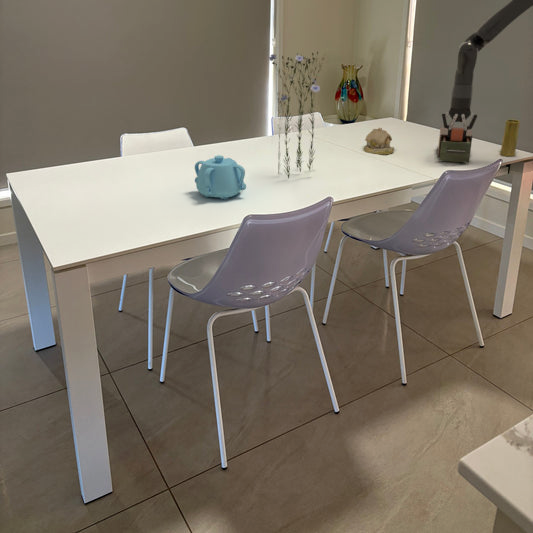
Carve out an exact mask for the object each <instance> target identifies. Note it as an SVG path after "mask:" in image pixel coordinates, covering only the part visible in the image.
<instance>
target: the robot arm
mask: <svg viewBox="0 0 533 533" xmlns="http://www.w3.org/2000/svg"><path fill="white" fill-rule="evenodd" d="M532 7H533V0H511V1H509V2H508V3H507V4H506V5H504V6H503V7H501V8H500V9H498V10H497V11H496V12H494V13H493V14H491V16H490V17H489V18H488V19H486V20H485V21H484V23H482V24H481V25H480V27H478V28H477V30H475V31H474V32H472V34H471V35H469V36H468V37H466V39H465V40H463V42H461V44H460V45H459V46H458V49H457V65H456V70H455V74H454V81H453V87H452V92H451V101H450V108H449V110H448V111H446V112H444V111H443V112H442V113H441V118H442V124H443V127H444V128H447V129H448V135H447V136H448V138H449V139H451V133H452V127H454V125H455V123H458V122H459V123H462V126H463V127H462V128H464V130H463V138H462V140H464V138H466V132H467V130H469V129H471V130H473V127H474V125H475V123H476V120H477V119H478V114H477V113H474V112H472V110H471V107H472V106H471V105H472V98H473V92H474V78H475V68H476V64H477V59H478V55H479V54H478V53H479V52H480V51H481V50H483V49H484V48H485V47H486V46H487V45H489V44H490V43H492V42H493V41H494V40H495V39H496V38H497V37H499V36H500V34H502V33H503V32H504V31H505V30H506V29H507V28H508V27H509V26H510V25H511V24H512V23H514V21H516V20H517V19H518V18H519V17H520V16H521V15H523V14H524V13H525V12H527V11H528V10H529V9H531V8H532ZM448 116H449V117H450V119H451V120H450V122H449V124H448V123H447V118H449V117H448ZM469 117H470V122H469V124H468V125H467V122H466V121H467V120H468V118H469Z"/></svg>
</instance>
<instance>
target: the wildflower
mask: <svg viewBox="0 0 533 533" xmlns="http://www.w3.org/2000/svg"><path fill="white" fill-rule="evenodd" d="M318 54H319V51H316V55H318ZM311 56H314V52H311ZM325 56H326V53H324V55H323V57H322V58H321V60H322V61H321V63H320V61H319V63H318V64H316V63H315V62H317V61H318V59H316V57H312V61H311V59H310V58H309V57H305V56H304V55H303V54H300V55H299V53H298V52H297V53H296V56H295V63H293V62H294V59H293V57H287V62H285V63H284V58H285V57H284V55H281V59H282V63H283V67H285V69H287V70H288V71H290V68H291V72H290V74H288V77H287V76H286V75H287V73H286V70H284V69H281V68H278V69H277V67H278V63H277V62H276V61H275V60H276V59H277V54H276V53H275V54H274V53H273V54H270V56H269V57H268V60H270V62H271V64H272V65H273V66H274V67H275V69H277V75H278V76H279V78H280V79H281V80H282V83H283V88H284V89H285V91H286V92H287V93H288V95H289V97H288V95H287V94H283V93H282V94H281V97H276V98H277V106H280V108H279V107H277V110H278V114H277V115H278V119H277V120H278V121H280V120H283V118H284V120H285V122H286V124H284V136H285V139H288V134H289V133H290V131H291V130H292V128H290V126H292V123H290V122H291V121H292V118H293V116H291V114H292V112H290V101H291V99H292V98H291V96H290V92H291V89H288V85H287V84H286V82H285V81H284V80H289V87H291V86H292V85H293V88H294V93H295V94H296V96H297V100H298V103H299V109H298V113H297V114H298V116H299V118H298V119H297V121H298V122H297V121H295V123H296V124H297V125H295V127H296V128H297V130H298V133H299V134H300V135H299V134H296V137H297V138H298V141H301V140H302V135H303V133H301V132H302V124H303V123H302V122H303V116H304V113H305V111H304V109H303V108H304V106H305V104H303V103H305V102H306V101H307V99H308V94H310V108H309V109H307V111H308V114H309V115H310V116H311V118H310V117H308V119H309V121H310V124H311V128H312V129H311V130H312V131H310V129H307V130H308V133H309V134H310V135H311V140H309V141H310V149H309V151H308V152H309V153H308V155H309V157H310V158H309V159H308V163H306V165H307V168H308V171H311V169H313V167H314V166H312V165H313V164H314V162H313V161H314V159H315V157H314V155H315V152H316V150H315V147H313V142H314V135H315V133H314V128H315V119H316V118H315V117H314V116H315V110H313V111H312V109H314V104H313V102H314V100H315V98H316V95H313V94H315V93H318V92H321V86H319V85H318V82H317V78H313V77H311V76H310V74H312V72H313V76H315V74H316V72H315V71H316V70H317V67H318V65H319V64H320V67H319V68H318V71H317V74H316V76H315V77H318V73H320V71H321V70H322V69H323V68H322V66H323V61H324V60H325ZM289 61H291V64H292V65H290V67H289ZM303 61H304V63H303ZM313 64H314V67H312V68H310V70H309V66H313ZM285 65H286V66H285ZM299 65H300V66H301V67H300V66H299ZM300 68H301V69H300ZM281 71H282V74H283V75H284V79H283V76H281ZM292 71H293V73H292ZM302 71H304V72H307V78H308V80H309V81H310V82H307V78H306V73H303V72H302ZM297 72H298V73H299V74H300V75H298V74H297ZM292 74H293V75H292ZM291 75H292V76H291ZM294 77H296V78H297V79H298V80H297V84H298V86H299V89H300V90H299V95H298V92H297V88H298V87H297V86H295V80H294ZM301 78H302V79H301ZM303 89H305V90H307V91H304V94H303ZM306 93H307V94H306ZM276 96H279V92H276ZM302 98H303V103H302V100H301V99H302ZM286 101H287V103H286ZM282 105H283V109H282V113H284V112H285V105H286V112H285V113H284V115H285V116H284V115H281V108H282ZM289 112H290V114H289ZM280 125H282V122H280ZM280 125H277V126H278V130H279V131H278V133H277V135H278V140H279V141H278V154H277V156H278V157H277V158H278V162H281V158H280V157H281V152H280V150H281V149H280V148H281V146H280V142H281V141H280V137H281V130H282V128H280ZM290 140H291V138H289V139H288V140H283V141H284V144H285V155H286V156H285V155H283V156H284V158H283V162H284V164H285V165H284V164H283V167H284V169H285V171H286V172H285V174H286V175H287V179H289V178H290V174H291V172H290V170H291V167H290V166H291V165H289V163H290V162H291V160H290V157H289V152H288V151H289V148H290V147H288V142H290ZM297 145H298V146H297V148H296V159H297V160H296V161H295V164H296V168H297V169H299V173H301V172H302V163H303V162H304V160H302V159H303V157H302V156H303V152H304V151H302V150H301V142H297ZM281 166H282V164H281V163H278V166H277V167H278V168H277V170H278V172H277V173H278V175H280V171H281V170H280V169H281V168H280V167H281ZM311 166H312V167H311Z"/></svg>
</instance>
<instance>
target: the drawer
mask: <svg viewBox="0 0 533 533" xmlns="http://www.w3.org/2000/svg"><path fill="white" fill-rule="evenodd" d="M471 150H472V143H471V142H469V138H464V140H462V141H451V139H449V138H448V137H443V141H442V143H441V151H440V157H439V161H440V162H452V163H453V162H454V163H455V162H456V163H470V157H471Z"/></svg>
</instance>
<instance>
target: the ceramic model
mask: <svg viewBox="0 0 533 533" xmlns="http://www.w3.org/2000/svg"><path fill="white" fill-rule="evenodd" d="M392 140H393V138H392V135H391V134H390V133H389V132H387V130H385V129H383V127H378V128H372V130H371V131H370V132H369V133H368V134H367V135H366V136H365V139H364V141H365V142H366V145H364V146H363V151H364V152H365V153H369V152H370V154H376V155H390V154H393V153H394V151H395V147H394V146H391V142H392Z"/></svg>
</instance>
